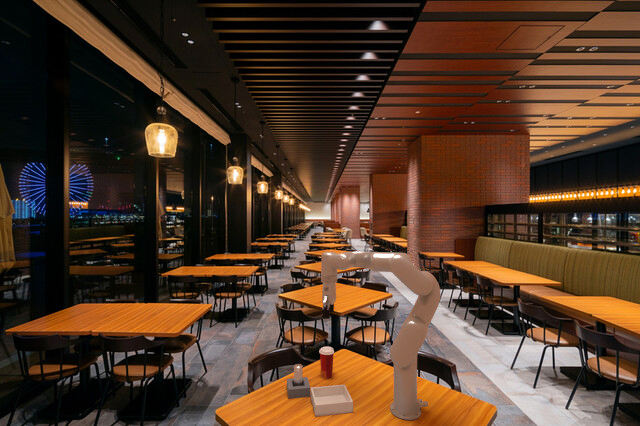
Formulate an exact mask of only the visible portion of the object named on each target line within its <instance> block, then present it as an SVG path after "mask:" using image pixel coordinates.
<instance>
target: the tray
mask: <svg viewBox="0 0 640 426" xmlns="http://www.w3.org/2000/svg"><path fill="white" fill-rule="evenodd" d="M310 400H311V405H312V409H313V413H314V416H315V417H324V416H333V415H341V414H350V413H354V400H353V399H352V396H351V394H350V392H349V391H348V388H347V386H346V384H337V385H325V386H314V387H312V386H311V387H310Z"/></svg>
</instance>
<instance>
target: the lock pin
mask: <svg viewBox="0 0 640 426" xmlns="http://www.w3.org/2000/svg"><path fill="white" fill-rule="evenodd" d="M302 377H303V364H301V363H296V364H294V365H293V378H294V387H295V386H302Z"/></svg>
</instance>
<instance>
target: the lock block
mask: <svg viewBox="0 0 640 426" xmlns="http://www.w3.org/2000/svg"><path fill="white" fill-rule="evenodd" d="M286 391H287V398H288V400H289V399H299V398H308V397H310V398H311V386H310V382H309V378H308V376H306V377H305V376H302V386H295V387H294V377H292V378H286Z"/></svg>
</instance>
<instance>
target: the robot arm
mask: <svg viewBox="0 0 640 426" xmlns="http://www.w3.org/2000/svg"><path fill="white" fill-rule="evenodd" d="M412 261H413V259H412V257H411V256H410V255H409V254H408V253H405V252H387V251H386V252H381V251H380V252H379V251H346V252H341V253H336V252H335V251H325V252H322V254H321V264H320V265H321V267H320V271H321V272H320V273H321V274H320V282H321V283H322V292H321V303H322V316H321V317H322V319H330V316H331V314H330V313H333V314H334V312H335V302H336V300H337V287H336V286H337V285H336V283H338V270H341V271H346V270H348V269H350V268H365V269H369V270H370V271H372V272H376V273H377V272H378V273H379V272H381V273H392V275H394V276H395V277H396V279H398V280H399V281H400V282H401V283H402V284H403V285H404V286H405V287H406V288H407V289H408V290H409V291H410V292H412V294H415V295H416V296H417V299H416V300H415V302H414V305H413V306H412V309H411V311H410V312H409V314H408V316H407V317H406V318H405V320H404V322H403V323H402V325H401V327H400V329H399V331H398V333H397V335H396V336H395V339H394V341H393V343H392V345H391V346H390V350H389V357H390V360H391V362H392V363H393V402H391V403H390V406H389V410H390V412H391V413H392V415H393V416H395V417H397V418H398V419H401V420H406V421H413V420H417V419H418V418H419V419H420V417H421V415H422V409H421V408H423V407H424V408H426V407H429V402H428V401H427V400H425V401H423V399H422V398H418V353H419V352H420V350H421V348H422V346H423V344H424V342H425V340H426V338H427V336H428V335H427V334H428V330H429V326H430V324H431V322H432V320H433V318H434V316H435V314H436V312H437V310H438V307H439V304H440V301H441V287H440V284H439V282H438V281H437V279H436V277H435V275H433V274H432V273H431V272H429V271H427V270H420V269H418V268H417V267H416V266H415V265H414V264H413V262H412Z"/></svg>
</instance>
